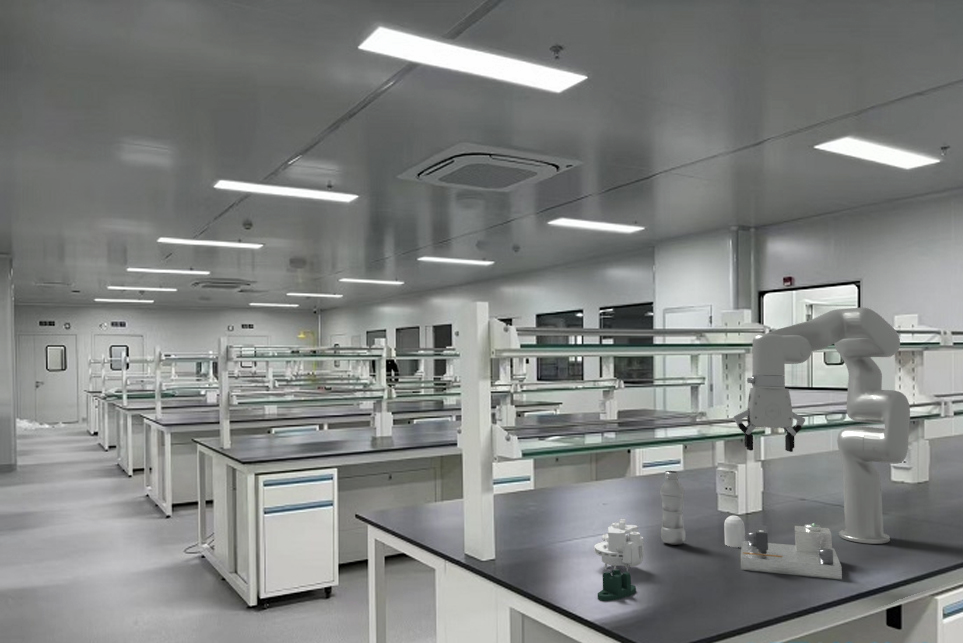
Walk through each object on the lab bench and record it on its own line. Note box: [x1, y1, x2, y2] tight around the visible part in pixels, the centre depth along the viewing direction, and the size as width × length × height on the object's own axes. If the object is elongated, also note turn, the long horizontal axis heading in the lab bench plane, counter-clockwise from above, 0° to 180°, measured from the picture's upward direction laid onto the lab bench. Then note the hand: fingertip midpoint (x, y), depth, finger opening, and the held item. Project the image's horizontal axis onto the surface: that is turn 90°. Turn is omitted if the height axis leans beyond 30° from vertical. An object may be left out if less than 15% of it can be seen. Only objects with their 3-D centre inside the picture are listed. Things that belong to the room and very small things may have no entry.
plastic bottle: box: [659, 470, 687, 546], centre depth 190 cm, size 6×7×20 cm
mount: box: [597, 568, 637, 602], centre depth 149 cm, size 11×4×5 cm, turn 126°
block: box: [755, 524, 769, 554], centre depth 168 cm, size 8×3×6 cm, turn 158°
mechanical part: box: [593, 518, 645, 572], centre depth 167 cm, size 11×12×12 cm
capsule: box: [723, 515, 746, 548], centre depth 188 cm, size 5×5×8 cm
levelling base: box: [740, 522, 843, 580], centre depth 169 cm, size 16×22×10 cm
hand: (769, 450), depth 171 cm, fingers open, 9 cm apart
